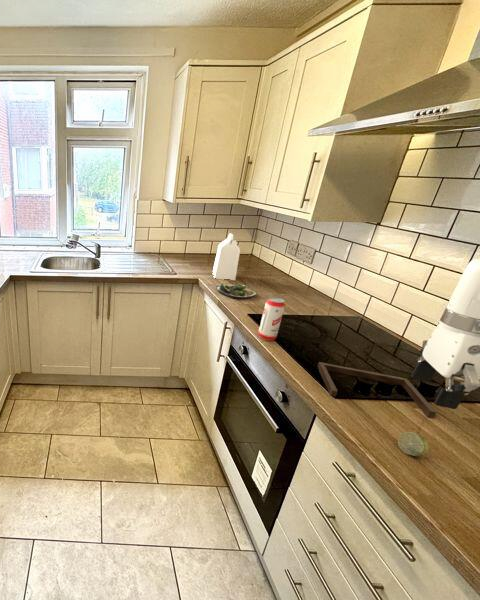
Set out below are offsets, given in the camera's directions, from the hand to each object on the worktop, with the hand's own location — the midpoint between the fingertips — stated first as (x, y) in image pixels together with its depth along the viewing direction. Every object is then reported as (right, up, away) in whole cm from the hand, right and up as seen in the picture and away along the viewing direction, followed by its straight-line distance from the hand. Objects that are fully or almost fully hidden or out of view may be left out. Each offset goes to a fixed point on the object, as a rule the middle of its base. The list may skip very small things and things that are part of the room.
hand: (431, 392), depth 68 cm
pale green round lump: (0, -15, +4) cm, 16 cm away
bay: (+9, -7, +25) cm, 27 cm away
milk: (+12, +34, +125) cm, 131 cm away
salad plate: (+6, +23, +99) cm, 102 cm away
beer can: (-4, +5, +54) cm, 55 cm away
